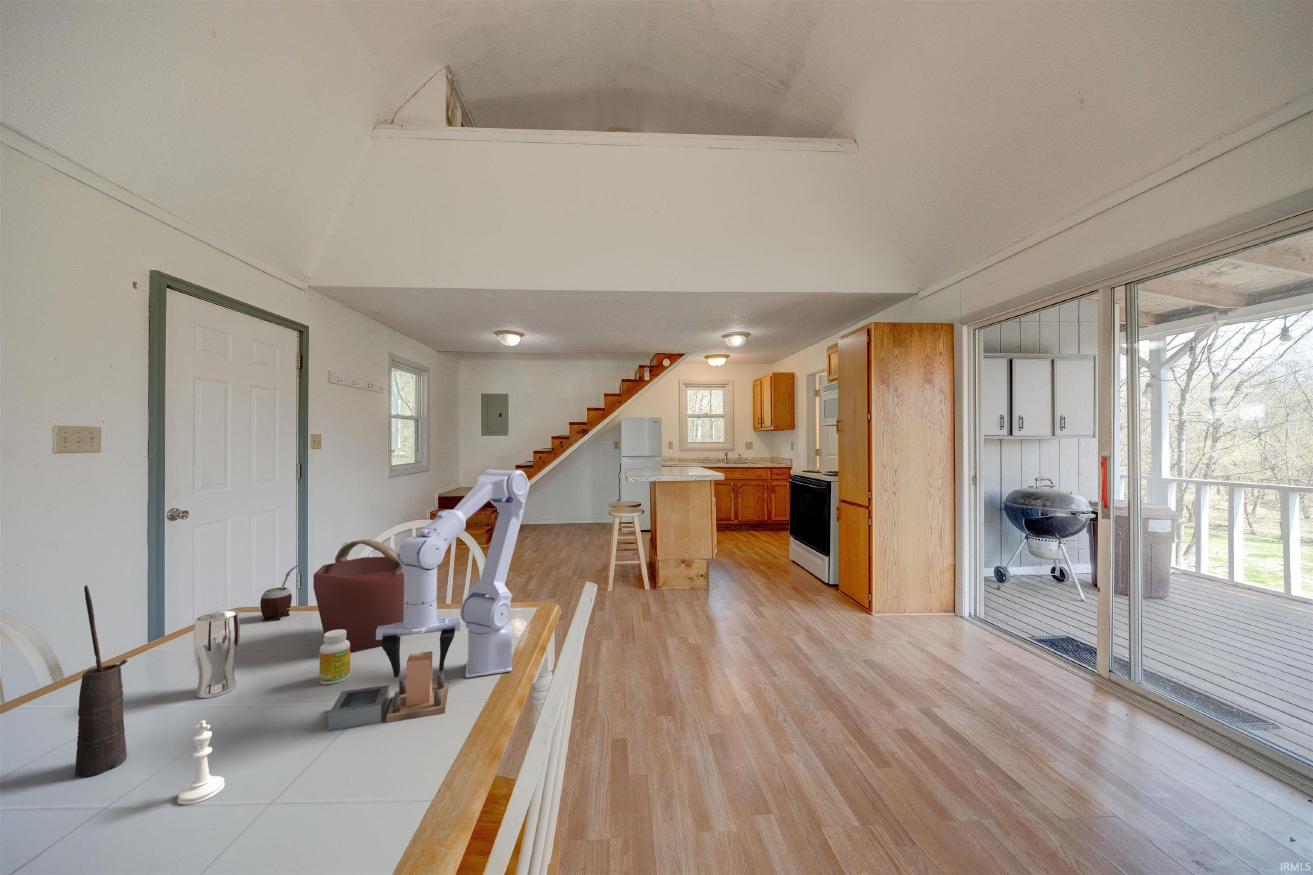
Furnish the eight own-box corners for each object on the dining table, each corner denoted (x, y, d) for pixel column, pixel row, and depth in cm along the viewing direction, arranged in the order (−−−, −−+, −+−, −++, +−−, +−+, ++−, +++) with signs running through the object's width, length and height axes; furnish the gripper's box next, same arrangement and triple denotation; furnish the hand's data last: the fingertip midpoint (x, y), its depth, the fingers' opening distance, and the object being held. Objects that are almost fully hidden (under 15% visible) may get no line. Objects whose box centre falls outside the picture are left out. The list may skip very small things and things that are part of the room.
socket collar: (389, 700, 95) (389, 684, 95) (380, 722, 87) (381, 705, 87) (341, 707, 92) (341, 691, 92) (328, 730, 85) (328, 713, 85)
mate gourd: (257, 618, 140) (258, 565, 140) (291, 611, 146) (291, 560, 146) (264, 624, 135) (264, 569, 135) (298, 616, 141) (299, 564, 141)
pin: (432, 692, 96) (432, 650, 96) (429, 702, 92) (430, 659, 92) (409, 695, 95) (409, 653, 95) (406, 706, 91) (406, 662, 91)
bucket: (429, 639, 125) (430, 540, 125) (328, 668, 108) (330, 555, 109) (392, 616, 141) (392, 529, 141) (299, 639, 124) (300, 540, 125)
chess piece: (197, 781, 72) (198, 712, 72) (233, 779, 72) (234, 711, 72) (167, 805, 67) (168, 731, 67) (205, 803, 67) (207, 730, 68)
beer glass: (246, 686, 100) (247, 612, 100) (203, 702, 94) (204, 623, 94) (227, 679, 103) (229, 607, 103) (185, 694, 97) (186, 618, 97)
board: (448, 688, 99) (448, 670, 100) (444, 712, 90) (445, 693, 90) (395, 696, 96) (395, 678, 96) (386, 722, 87) (386, 702, 87)
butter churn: (149, 736, 83) (152, 570, 83) (156, 759, 77) (160, 580, 77) (64, 763, 76) (68, 581, 76) (65, 791, 70) (69, 593, 70)
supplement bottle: (334, 686, 100) (335, 638, 100) (312, 683, 101) (313, 636, 102) (355, 674, 106) (356, 628, 106) (334, 671, 107) (335, 627, 107)
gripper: (372, 610, 88) (371, 687, 87) (460, 602, 92) (459, 675, 92) (380, 599, 94) (379, 670, 94) (461, 592, 99) (461, 659, 99)
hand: (419, 671), depth 93 cm, fingers open, 7 cm apart
